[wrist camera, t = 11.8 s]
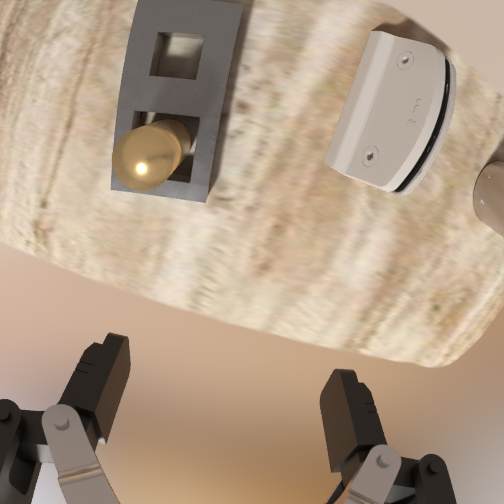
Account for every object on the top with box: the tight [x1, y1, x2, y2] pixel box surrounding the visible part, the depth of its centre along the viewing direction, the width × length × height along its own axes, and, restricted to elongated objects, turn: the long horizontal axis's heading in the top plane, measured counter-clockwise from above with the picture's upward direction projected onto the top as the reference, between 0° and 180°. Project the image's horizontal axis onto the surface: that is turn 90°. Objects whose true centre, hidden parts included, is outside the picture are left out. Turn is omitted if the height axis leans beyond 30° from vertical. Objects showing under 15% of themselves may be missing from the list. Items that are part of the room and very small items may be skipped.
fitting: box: [112, 119, 191, 191], centre depth 26 cm, size 5×5×9 cm
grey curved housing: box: [323, 31, 456, 195], centre depth 26 cm, size 17×5×10 cm, turn 162°
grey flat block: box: [111, 0, 243, 203], centre depth 27 cm, size 10×20×2 cm, turn 169°
